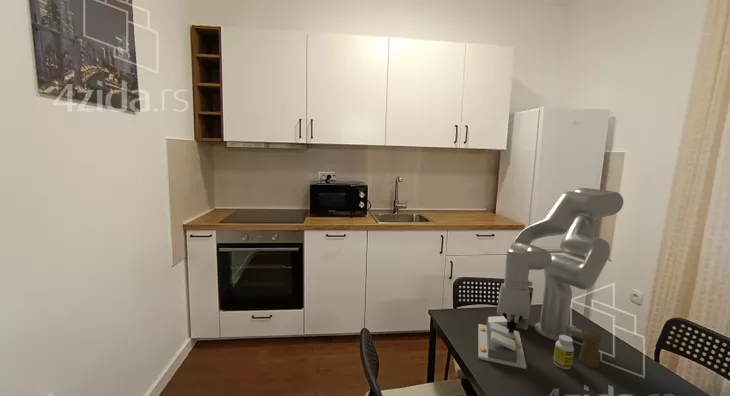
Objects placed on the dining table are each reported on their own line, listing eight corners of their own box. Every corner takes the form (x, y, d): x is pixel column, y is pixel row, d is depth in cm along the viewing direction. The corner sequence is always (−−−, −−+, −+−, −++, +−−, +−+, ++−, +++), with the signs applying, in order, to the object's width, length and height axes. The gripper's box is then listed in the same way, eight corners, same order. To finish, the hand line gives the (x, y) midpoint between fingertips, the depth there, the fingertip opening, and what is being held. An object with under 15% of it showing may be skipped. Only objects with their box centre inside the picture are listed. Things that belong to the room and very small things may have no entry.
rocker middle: (511, 334, 123) (513, 329, 122) (512, 340, 119) (514, 336, 118) (489, 326, 125) (490, 321, 124) (489, 332, 121) (491, 327, 120)
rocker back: (510, 320, 129) (509, 315, 129) (511, 326, 125) (510, 321, 125) (489, 321, 132) (488, 316, 132) (489, 327, 128) (488, 322, 127)
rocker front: (513, 345, 116) (515, 340, 116) (514, 352, 112) (516, 347, 112) (490, 335, 118) (491, 330, 118) (490, 342, 114) (492, 337, 114)
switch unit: (518, 333, 130) (519, 323, 130) (526, 368, 110) (527, 356, 109) (478, 326, 135) (479, 316, 134) (478, 358, 115) (479, 346, 114)
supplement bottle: (565, 371, 109) (568, 344, 107) (549, 362, 114) (552, 335, 112) (574, 366, 112) (578, 340, 110) (559, 357, 116) (562, 331, 115)
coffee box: (503, 323, 138) (506, 287, 135) (505, 317, 143) (509, 281, 140) (527, 330, 133) (531, 293, 130) (529, 323, 138) (533, 287, 136)
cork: (602, 368, 111) (607, 338, 109) (582, 365, 112) (586, 335, 110) (593, 357, 117) (598, 328, 115) (574, 354, 118) (579, 326, 116)
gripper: (537, 282, 119) (531, 329, 122) (492, 276, 123) (488, 321, 126) (541, 290, 112) (535, 340, 115) (493, 284, 116) (489, 332, 119)
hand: (510, 330), depth 120 cm, fingers closed
